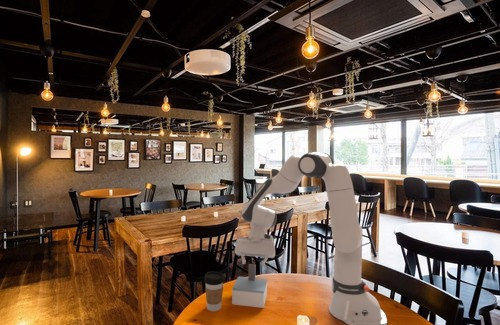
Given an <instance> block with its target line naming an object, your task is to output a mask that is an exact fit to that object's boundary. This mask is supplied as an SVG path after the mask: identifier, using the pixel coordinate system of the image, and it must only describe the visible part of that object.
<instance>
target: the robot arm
mask: <svg viewBox="0 0 500 325" xmlns="http://www.w3.org/2000/svg"><path fill="white" fill-rule="evenodd" d="M304 177H309V178H315V179H322V180H323V181H324V184H325V190H326V196H327V201H328V206H329V216H330V227H331V234H332V241H333V242H332V243H333V245H334V257H333V276H332V279H331V283H332V284H331V290H332V297H331V300H330V301H331V302H330V304H329V307H328V311H329V313H330V314H331V315H332V316H333V317H335V318H336V319H338V320H340V321H342V322H343V323H345V324H347V325H388V319H387V316H386V313H385V312H384V311H383V310H382V309H381V306H380V303H379V301H378V300H377V298H376V297H375V296H374V295H372V294H371V293H370V292H369V291H370V289H371V288H370V287H369V286H368V284H367V283H366V282H365V281H364V280H363V279H362V262H363V260H362V255H363V227H362V226H361V224H360V222H359V215H358V214H359V213H358V207H357V206H358V205H357V200H356V195H355V190H354V185H353V181H352V177H351V175H350V172H349V169H348V167H347V166H346V165H345V164H342V163H334V159H333V157H332V156H331V155H330V154H328V153H326V152H319V151H312V152H306V153H304V154H303V155H302V156H301V155H297V154H293V155H290V156H289V158H287V160H286V161H285V162H284V164H283V165H282V166H281V168H280V170H279V172H278V173H277V174H276V175H274V176H273V177H270V178H267V179H266V180H265V181H264V182H263V183H262V184H261V186H260V187H259V188H258V189H257V190H256V192H255V193H254V194H252V197H251V198H250V199H249V200H248V201H247V202H246V203H244V205H243V206H242V208H241V210H240V211H241V212H240V215H241V217H242V219H243V221H244V222H248V223H250V229H249V231H248V237H247V236H246V237H244V236H243V237H242V236H240V237H238V238H237V239H236V241H235V247H234V252H235V255H236V256H241V259H242V260H241V262H242V263H241V264H243V265H246V262H247V260H246V259H245V257H246V256H247V257H257V258H259V257H260V258H263V260H261V263H260V264H261V266H266V265H265V264H266V262H267V260H268V258H270V259H274V258H275V256H276V247H275V242H274V236H273V235H271V234H268V233H266V231H267V230H268V231H269V230H270V229H272V228H274V227H275V226H276V223H277V220H278V216H277V213H276V211H275V210H273V209H271V208H268V207H266V206H263V205H260V203H261V202H262V201H263V199H265V197H266V196H268V195H270V194H290V193H293V192H294V191H295V190H296V189H297V187H298V186H299V184H300V183H301V181H302V179H303V178H304Z"/></svg>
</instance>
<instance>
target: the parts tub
mask: <svg viewBox="0 0 500 325" xmlns="http://www.w3.org/2000/svg"><path fill="white" fill-rule="evenodd" d="M231 293H232V294H231V296H232V297H231V304H232V305H237V306H245V307H254V308H263V309H264V308H265V304H266V299H267V297H268V296H267V295H268V282H267V283H266V287H265V291H264V293H254V292H245V291H235V290H231Z"/></svg>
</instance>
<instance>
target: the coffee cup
mask: <svg viewBox="0 0 500 325" xmlns="http://www.w3.org/2000/svg"><path fill="white" fill-rule="evenodd" d="M224 282H225V277H224V274H223V273H222V272H220V271H208V272H206V273H205V276H204V284H205V297H206V309H207V311H210V312H218V311H219V310H221V308H222V302H223V301H222V300H223V292H224V291H223V290H224Z"/></svg>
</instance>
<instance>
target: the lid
mask: <svg viewBox="0 0 500 325" xmlns="http://www.w3.org/2000/svg"><path fill="white" fill-rule="evenodd" d="M256 266H257V265H256V263H249V264H248V272H247V273H248V276H239V275H238V277H237V278H236V280H235V282H234V284H233V286H232V288H231V289H232V290H235V291H245V292H254V293H264V291H265V287H266V283H267V284H268V279H267V278H259V277H258V278H256ZM232 290H231V291H232Z"/></svg>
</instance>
